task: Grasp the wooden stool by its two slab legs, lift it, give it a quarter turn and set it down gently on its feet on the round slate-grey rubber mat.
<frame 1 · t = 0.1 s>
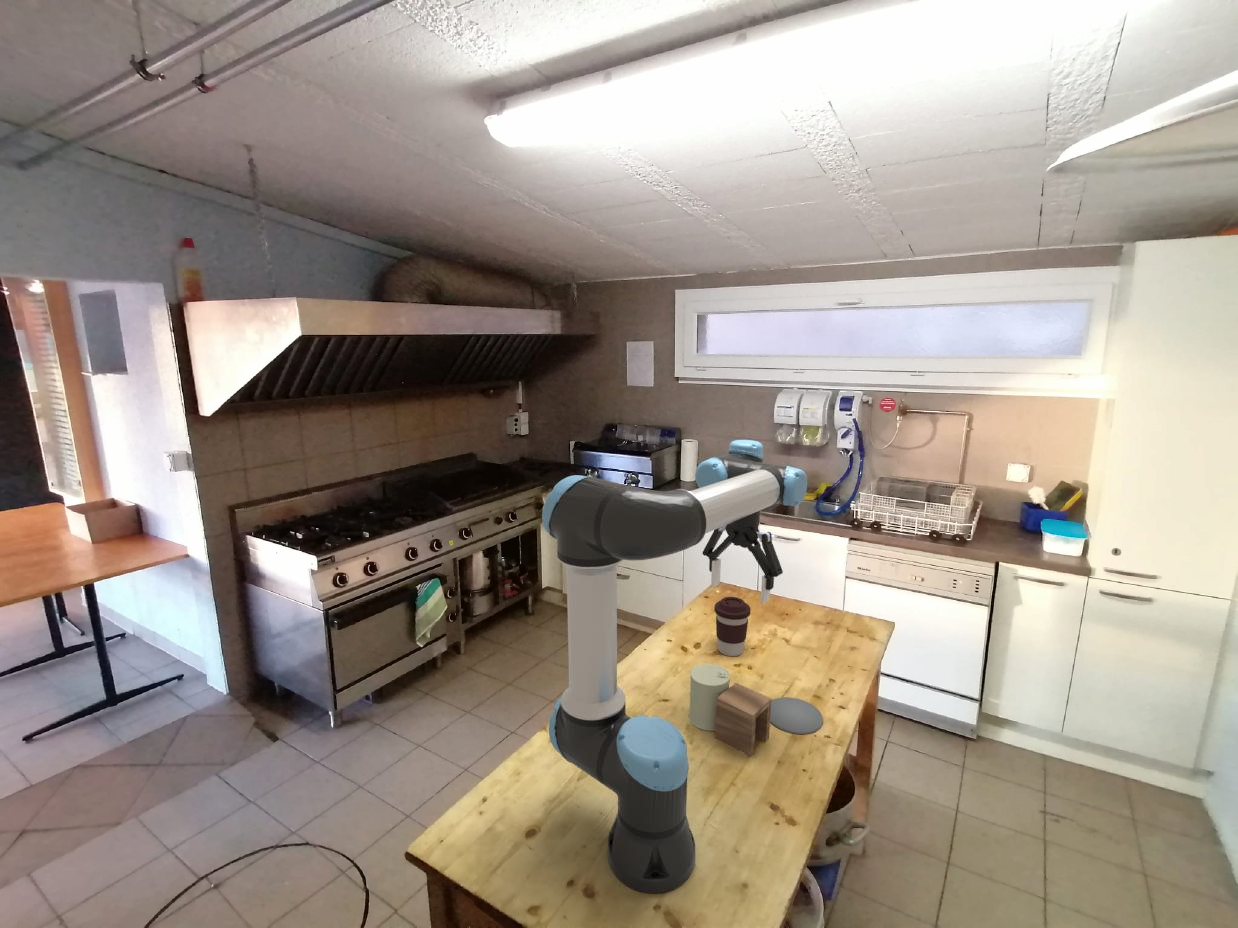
hand: (739, 592, 141), 28 cm above the table, fingers open, 13 cm apart
coffee cup: (730, 650, 169), on the table
rubber mat: (793, 715, 139), on the table
can: (708, 718, 139), on the table
wooden stool: (741, 738, 132), on the table
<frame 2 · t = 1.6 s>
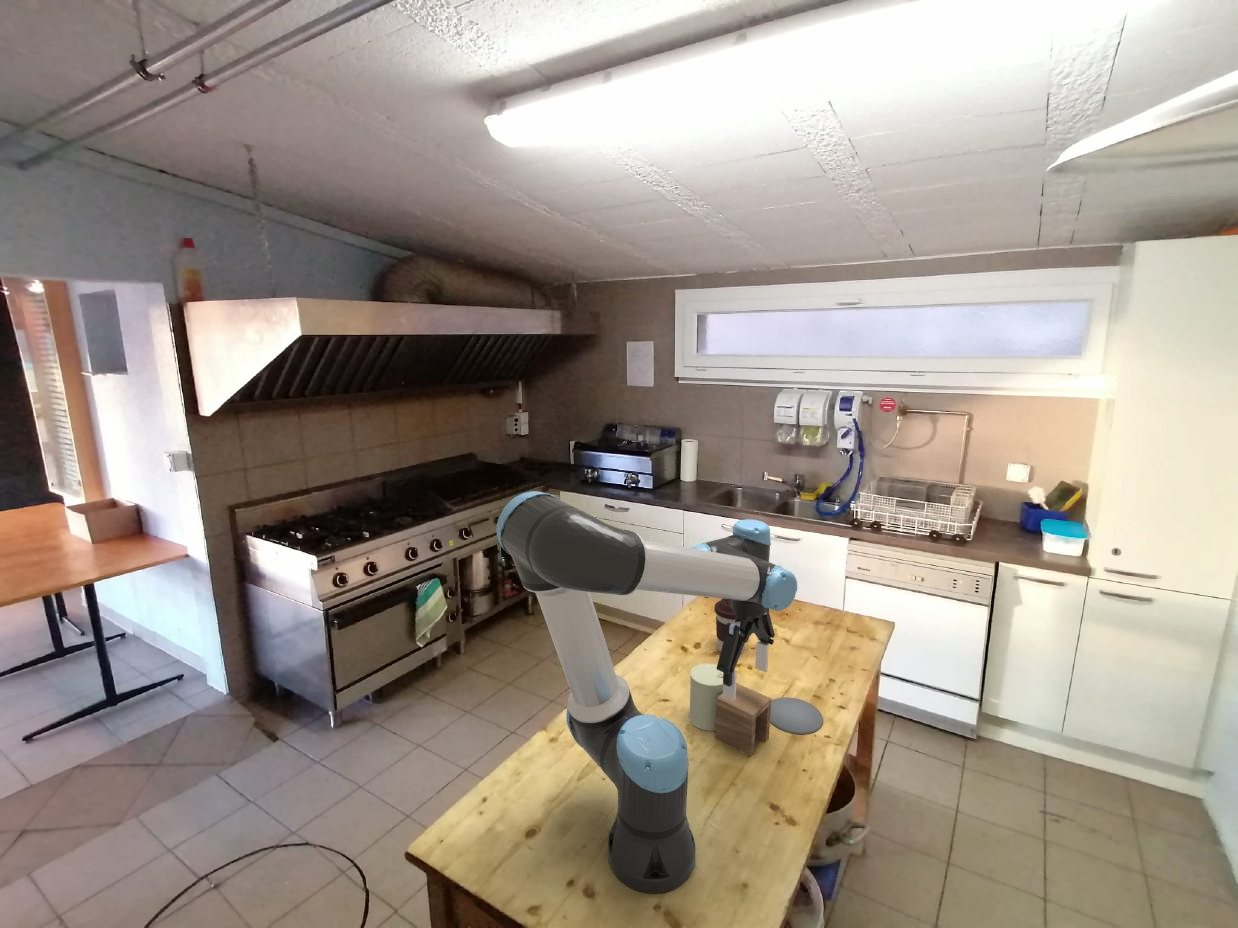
hand: (745, 682, 129), 14 cm above the table, fingers open, 13 cm apart
nothing on the table moved.
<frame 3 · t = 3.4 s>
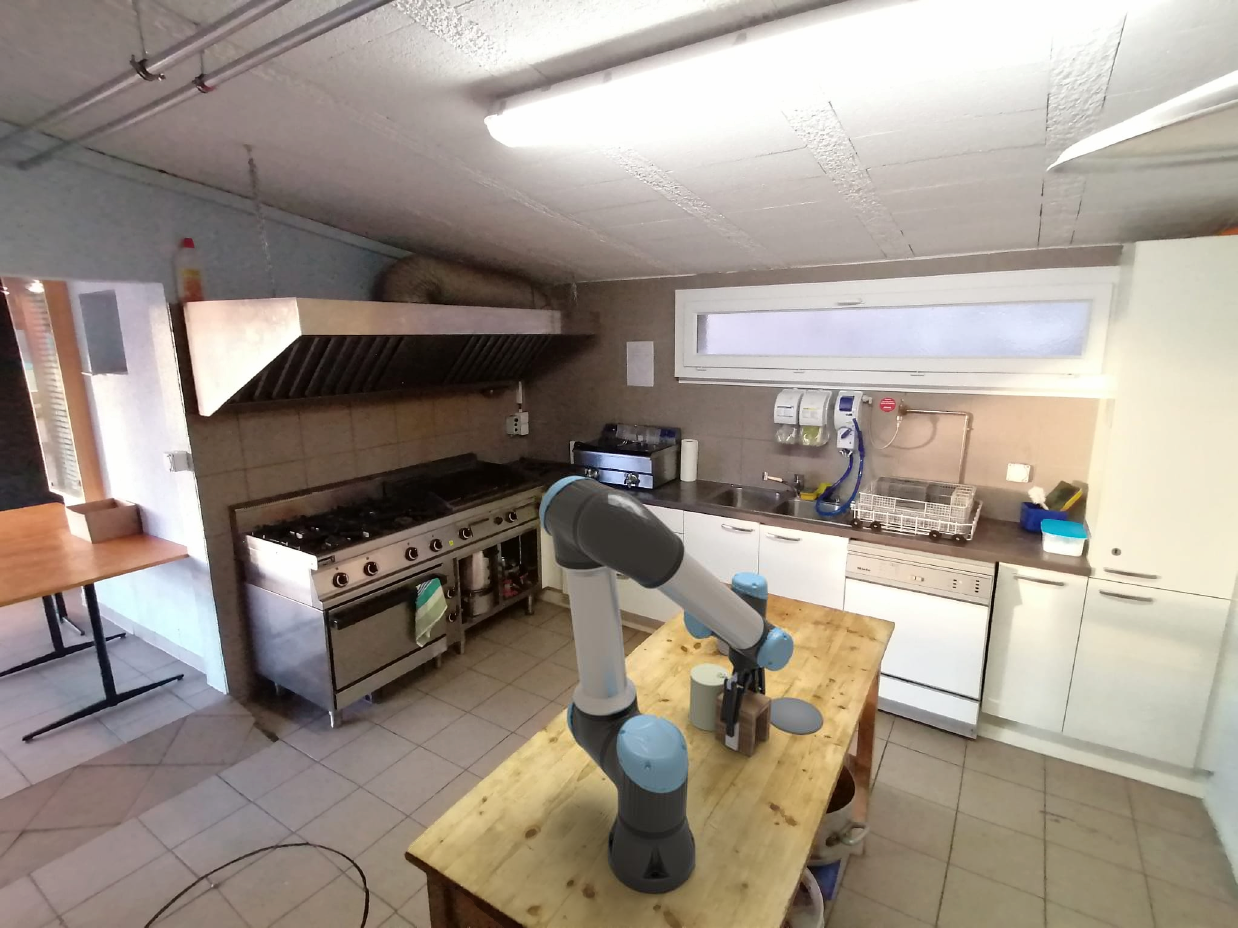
hand: (742, 736, 132), 0 cm above the table, fingers closed on wooden stool, 8 cm apart
wooden stool: (741, 737, 132), on the table, touching gripper
everything else where it was.
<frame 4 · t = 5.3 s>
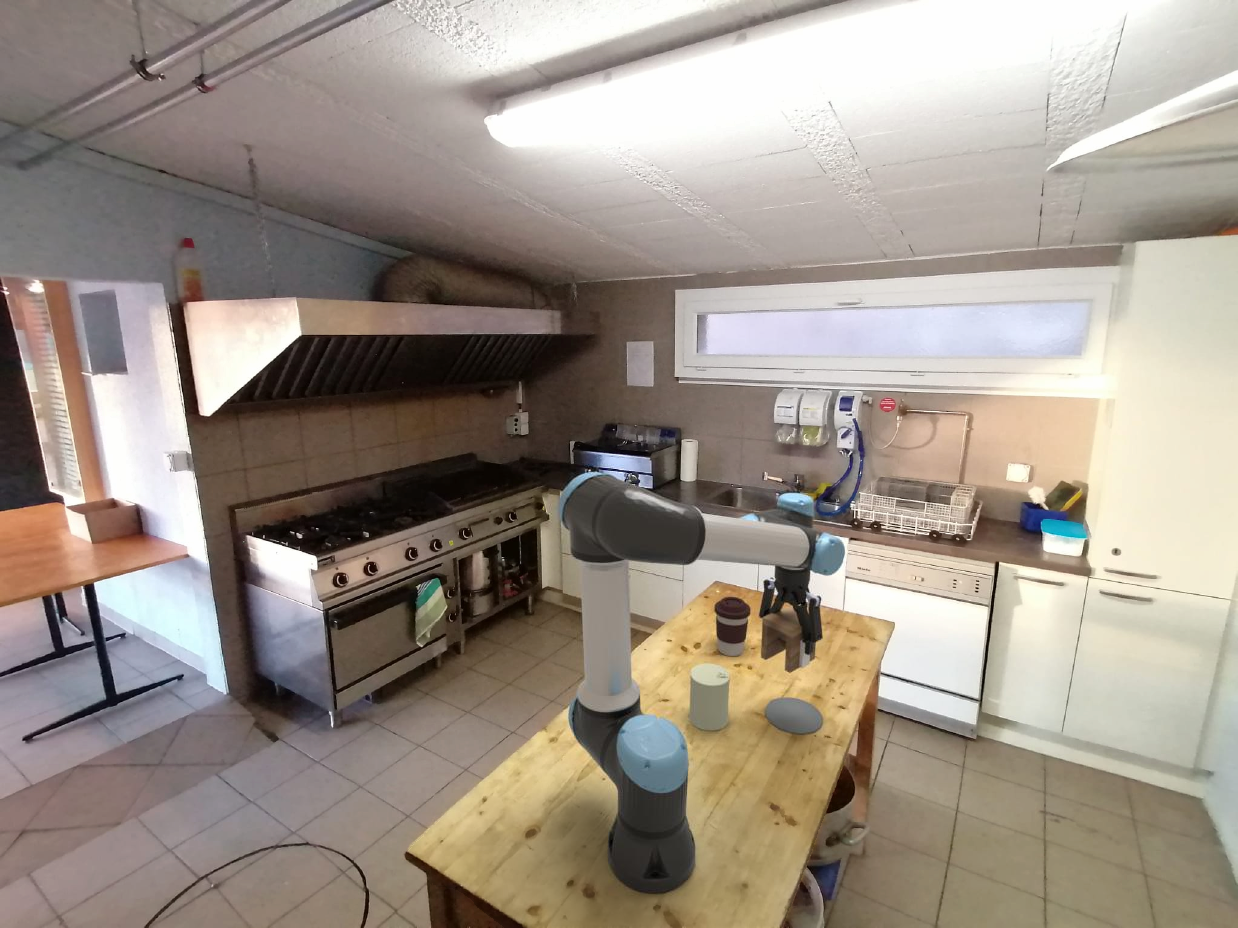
hand: (787, 656, 134), 16 cm above the table, fingers closed on wooden stool, 8 cm apart
wooden stool: (787, 658, 134), point 16 cm above the table, touching gripper
everything else where it was.
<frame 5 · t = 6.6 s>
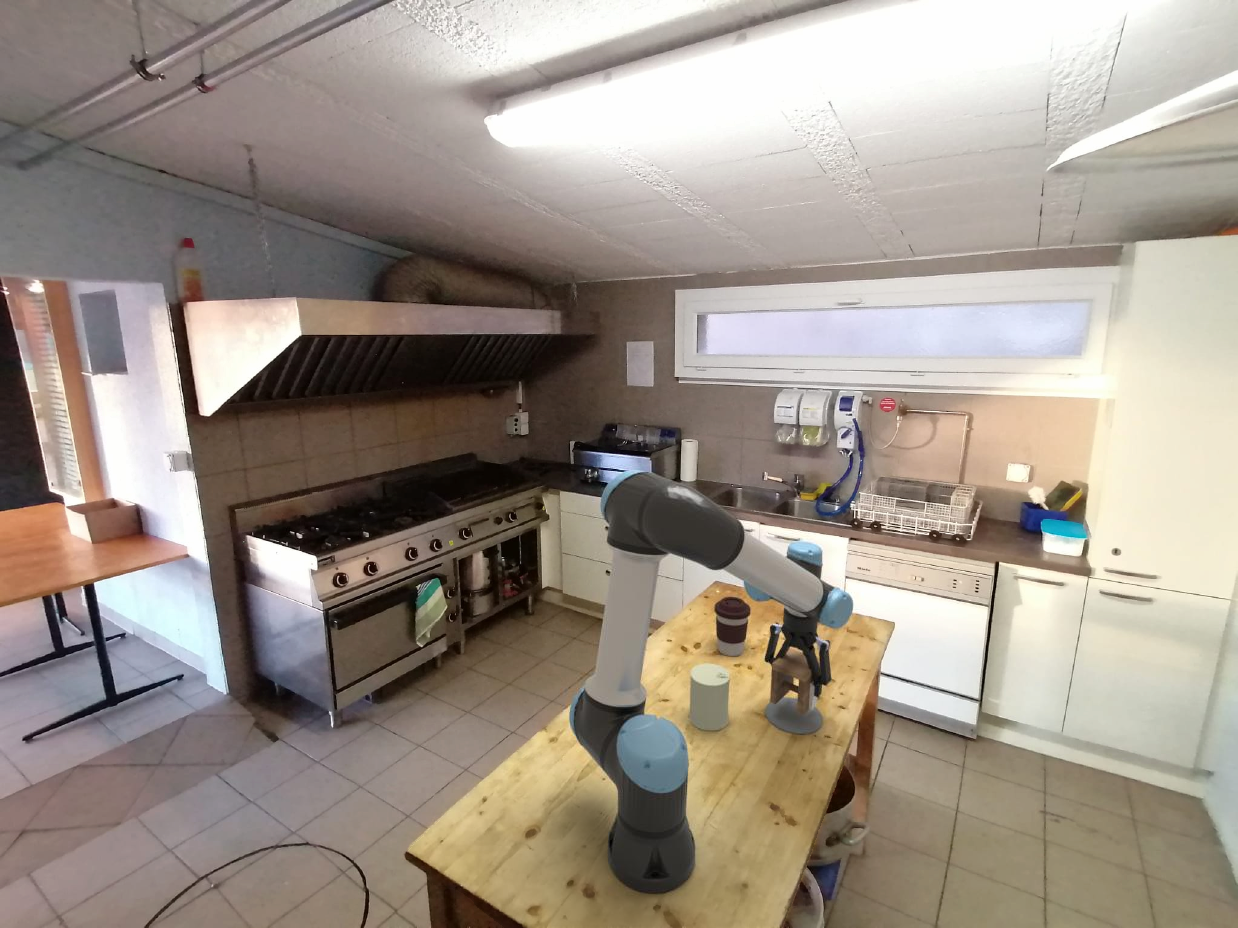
hand: (794, 699, 138), 4 cm above the table, fingers closed on wooden stool, 8 cm apart
wooden stool: (794, 700, 138), point 4 cm above the table, touching gripper
everything else where it was.
when the fingers open (1 cm above the table, at t = 7.6 s): wooden stool stays where it is, resting on rubber mat.
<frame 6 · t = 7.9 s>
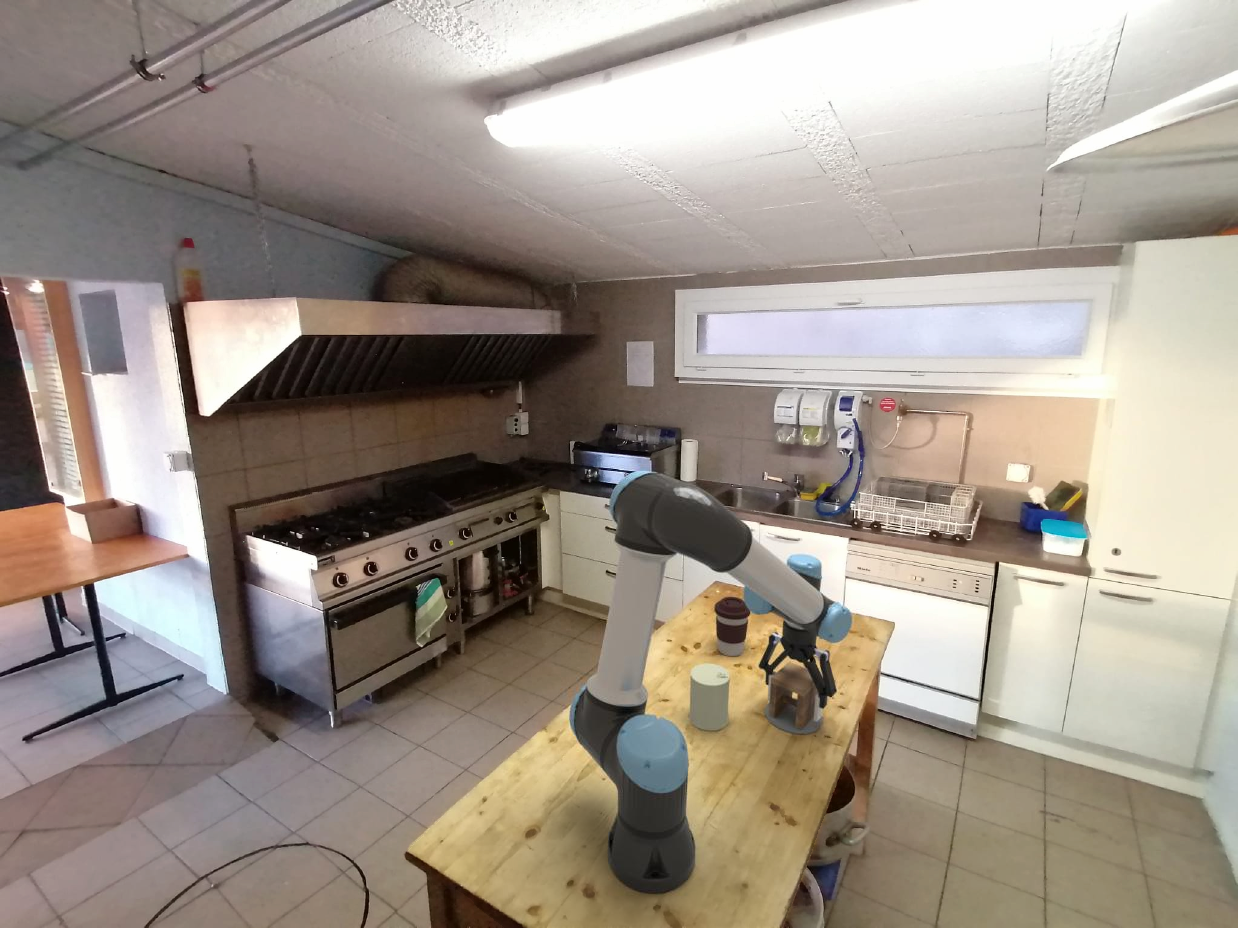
hand: (794, 707, 139), 2 cm above the table, fingers open, 11 cm apart
wooden stool: (793, 713, 139), point 1 cm above the table, touching rubber mat
everything else where it was.
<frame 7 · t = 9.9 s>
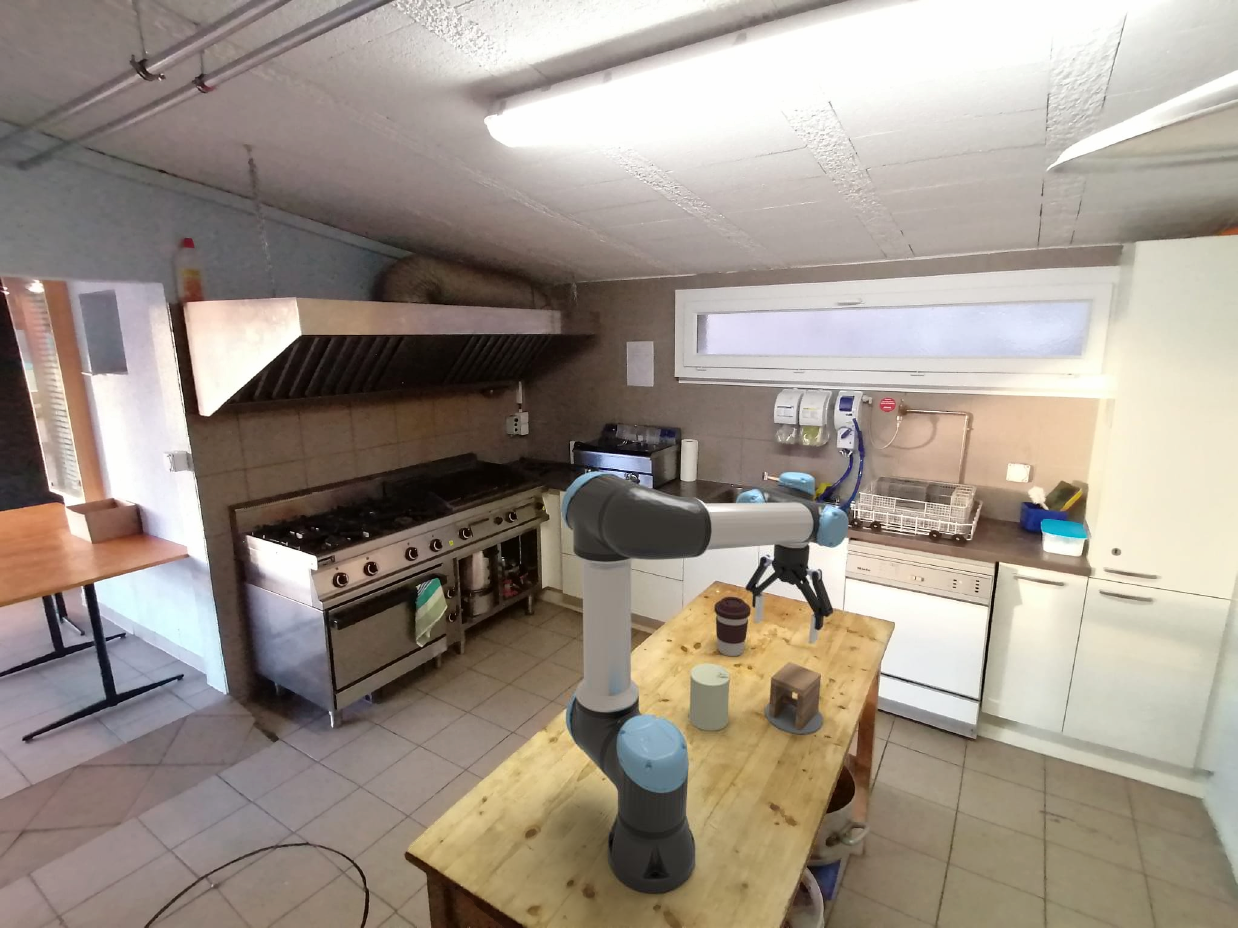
hand: (784, 631, 135), 22 cm above the table, fingers open, 13 cm apart
nothing on the table moved.
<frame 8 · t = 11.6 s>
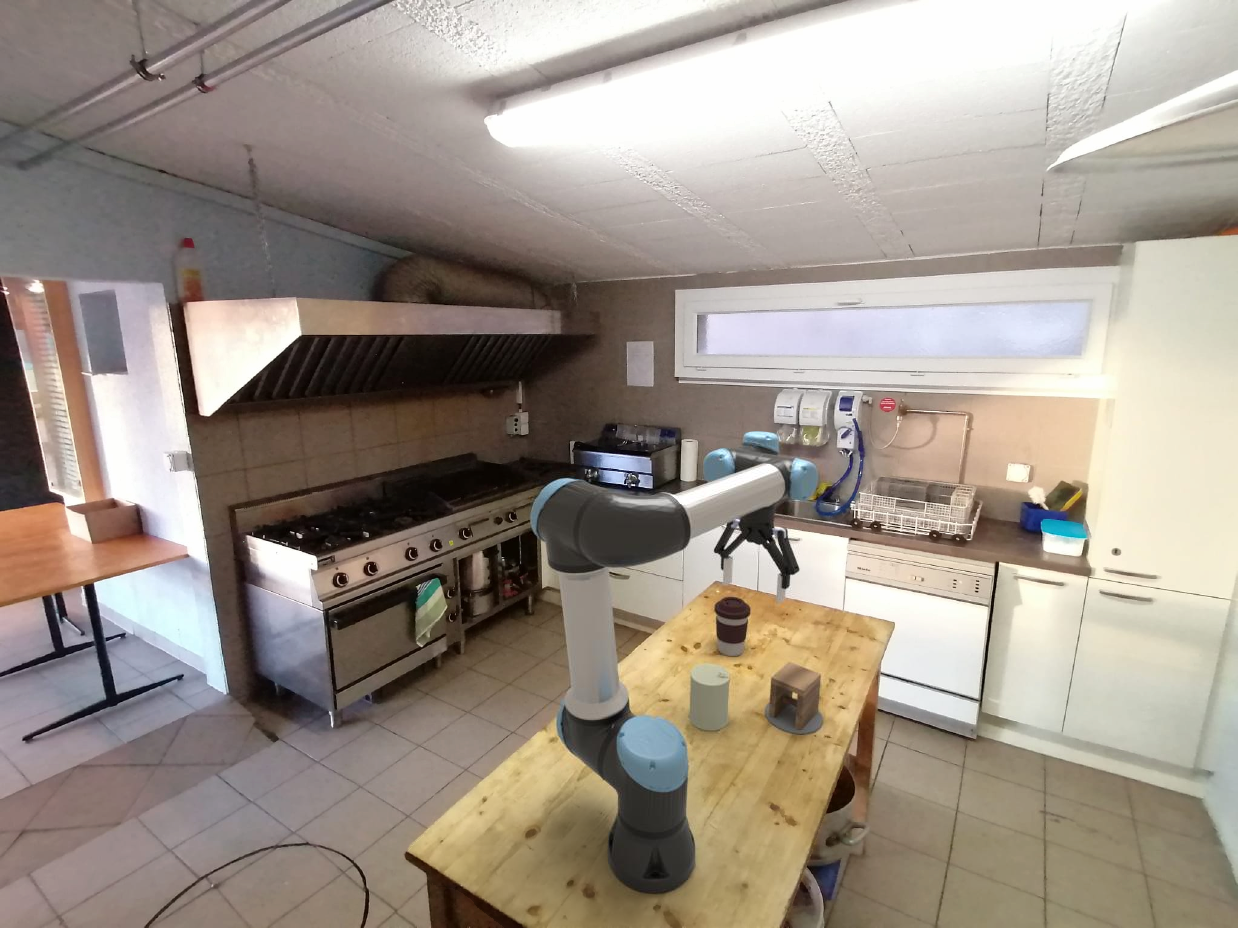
hand: (753, 592, 134), 31 cm above the table, fingers open, 13 cm apart
nothing on the table moved.
at the end: wooden stool inside the target area on the rubber mat (0.0 cm from its centre), point 0.6 cm above the rubber mat's base; wooden stool tilted 0°; the gripper is holding nothing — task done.
